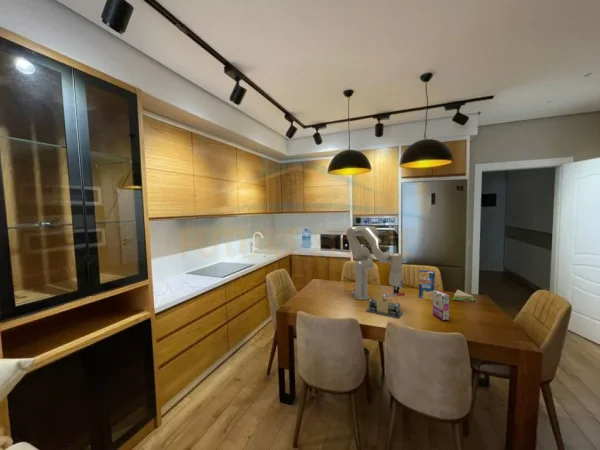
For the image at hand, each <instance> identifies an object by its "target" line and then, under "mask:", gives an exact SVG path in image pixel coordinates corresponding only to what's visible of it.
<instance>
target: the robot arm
mask: <svg viewBox="0 0 600 450" xmlns="http://www.w3.org/2000/svg"><path fill="white" fill-rule="evenodd" d="M378 233H379V232H378V228H377V227H376V226H373V225H372V226H369V225H356V226H355V225H354V226H350V227H349V228H348V229H347V231H346V239H347V242H348V244H349V248H350V251H351V255H352V257H353V258H354V259H356V260H357V259H359V260H357V261H355V262H354V264H353V267H354V274H355V275H354V276H355V291H354V290H351V294H352V295H353V298H354V299H356V300H360V301H362V300H363V301H366V300H370V295H368V275H367V272H366V271H369V270H372V269H373V268H374V262H373V258H372V255H373V256H374V257H375V259H376V260H377V261H378V262H379V263H382V264H385V263H390V272H389V276H388V283H389V285H390V286H391V287H392V290H393V294H394V293H396V292H400V291H399V290H401V289H403V286H404V275H403V255H402V253H398V252H393V251H385V252H383V251H382V250H381V249H380V247H379V244H380V243H381V239H380V238H379V236H378ZM361 236H363V238H364V239H365V240H366V241H367V243H368V244H369V245H370V247H371V251H370V250H369V248H368V247H366V246H361V243H360V241H359V239H358V238H357V237H361ZM371 253H372V255H371Z"/></svg>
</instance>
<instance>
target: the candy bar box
mask: <svg viewBox="0 0 600 450" xmlns="http://www.w3.org/2000/svg"><path fill="white" fill-rule="evenodd" d="M450 301H451V300H450V295H449V294H447V293H445V292H443V291H440V290H435V291H433V300H432V315H434V316H436V317H437V318H439V319H440V320H442V321H450Z"/></svg>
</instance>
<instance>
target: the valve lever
mask: <svg viewBox="0 0 600 450" xmlns="http://www.w3.org/2000/svg"><path fill="white" fill-rule="evenodd" d="M403 296H404V297H405V296H406V294H405V292H404V291H399V292H396V293H394V292H393V293H381V298H386V299H388V297H389V298H390V297H403Z"/></svg>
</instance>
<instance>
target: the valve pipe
mask: <svg viewBox="0 0 600 450" xmlns="http://www.w3.org/2000/svg"><path fill="white" fill-rule="evenodd" d="M365 312H366V313H370V314H375V315H380V316H384V317H389V318H393V319H400V318H401V317H402V316H403V314H404V311H401V303H400V302H396V303H393V302H392V299H391V298H382V297H379V298H378V299H377V300H376V299H374V298H372V297H369V299H368V308H367V309H366V310H365Z"/></svg>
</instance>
